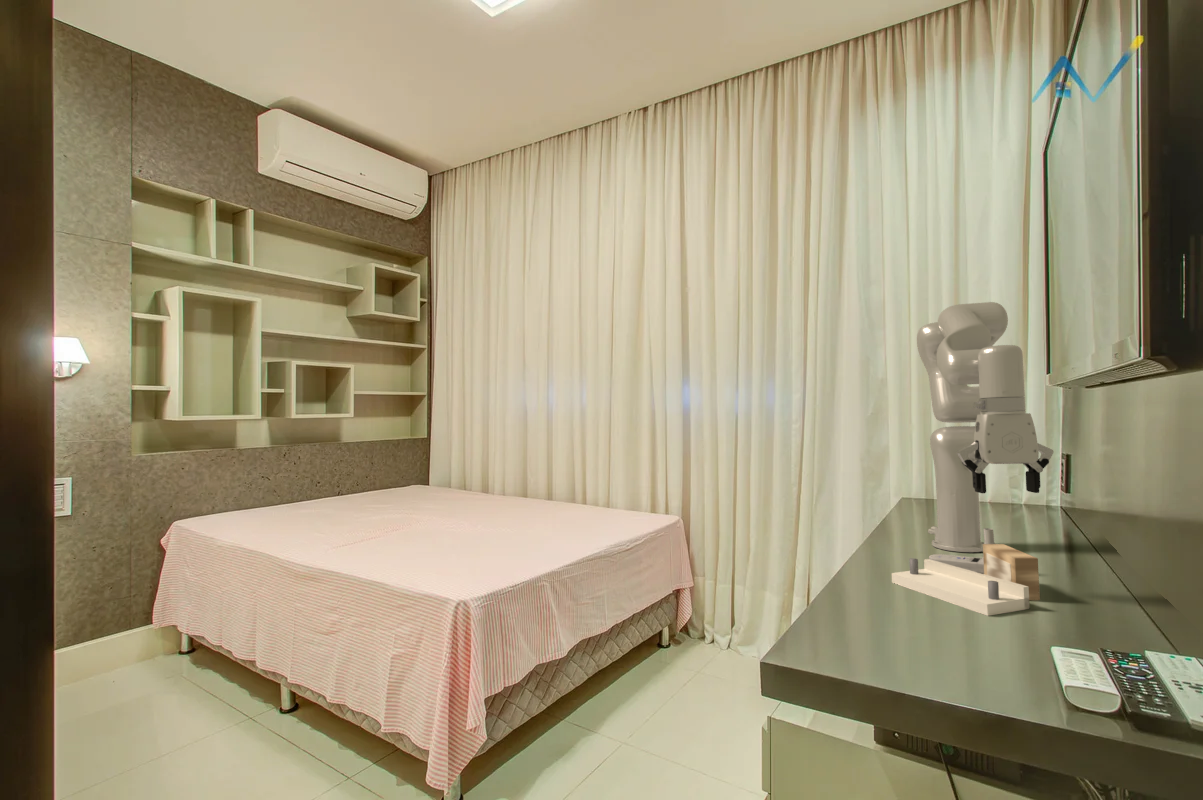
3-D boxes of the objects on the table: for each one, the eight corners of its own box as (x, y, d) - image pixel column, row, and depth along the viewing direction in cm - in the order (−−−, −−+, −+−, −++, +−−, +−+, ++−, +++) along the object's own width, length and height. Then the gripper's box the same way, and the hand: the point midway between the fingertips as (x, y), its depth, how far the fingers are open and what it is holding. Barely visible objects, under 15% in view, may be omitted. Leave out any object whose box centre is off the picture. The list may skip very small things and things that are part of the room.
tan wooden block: (984, 582, 123) (982, 544, 123) (1005, 582, 122) (1003, 544, 123) (1016, 600, 111) (1014, 558, 111) (1039, 600, 111) (1037, 558, 111)
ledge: (892, 582, 124) (891, 559, 124) (929, 577, 127) (928, 554, 127) (987, 615, 103) (986, 587, 103) (1029, 608, 106) (1028, 581, 106)
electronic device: (929, 523, 140) (1004, 528, 130) (933, 564, 140) (1008, 572, 129) (923, 526, 136) (1000, 532, 126) (927, 569, 136) (1004, 578, 126)
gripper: (965, 407, 115) (969, 495, 115) (1061, 405, 113) (1066, 494, 112) (947, 408, 123) (951, 490, 122) (1038, 406, 120) (1042, 489, 120)
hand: (1006, 492), depth 117 cm, fingers open, 9 cm apart
